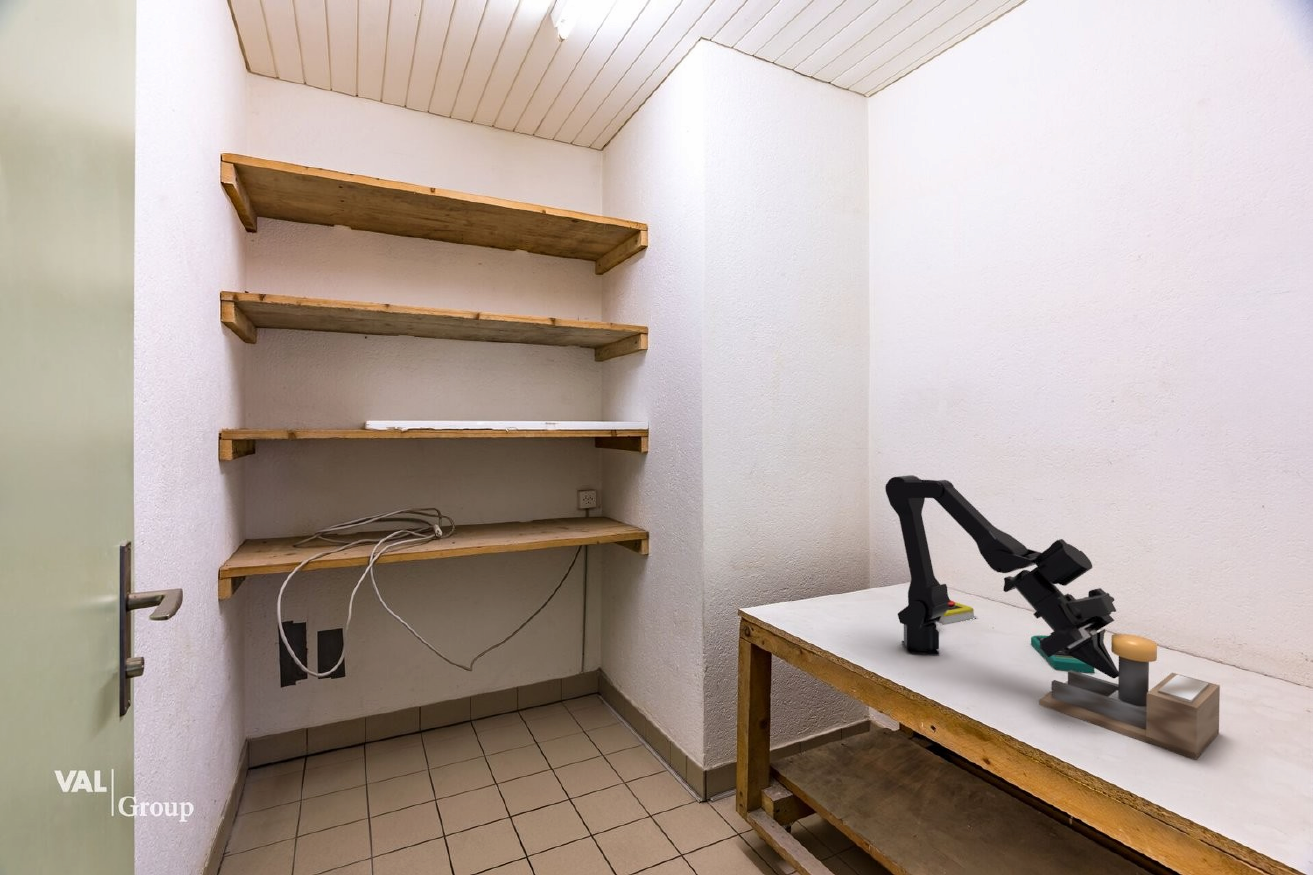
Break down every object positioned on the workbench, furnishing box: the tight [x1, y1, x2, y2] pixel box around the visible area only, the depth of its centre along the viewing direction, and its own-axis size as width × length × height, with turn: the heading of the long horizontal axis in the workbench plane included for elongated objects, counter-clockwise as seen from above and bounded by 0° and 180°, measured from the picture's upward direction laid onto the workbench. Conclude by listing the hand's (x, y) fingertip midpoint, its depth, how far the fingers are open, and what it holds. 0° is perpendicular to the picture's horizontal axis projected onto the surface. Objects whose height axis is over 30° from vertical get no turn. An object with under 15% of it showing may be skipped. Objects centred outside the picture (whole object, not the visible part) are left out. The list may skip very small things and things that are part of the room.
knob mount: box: [1038, 670, 1221, 761], centre depth 100 cm, size 21×13×8 cm, turn 35°
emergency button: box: [936, 599, 979, 626], centre depth 153 cm, size 9×4×15 cm
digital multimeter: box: [1030, 635, 1095, 674], centre depth 126 cm, size 7×15×3 cm, turn 164°
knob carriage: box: [1109, 633, 1158, 709], centre depth 99 cm, size 6×6×13 cm
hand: (1117, 676), depth 101 cm, fingers closed
